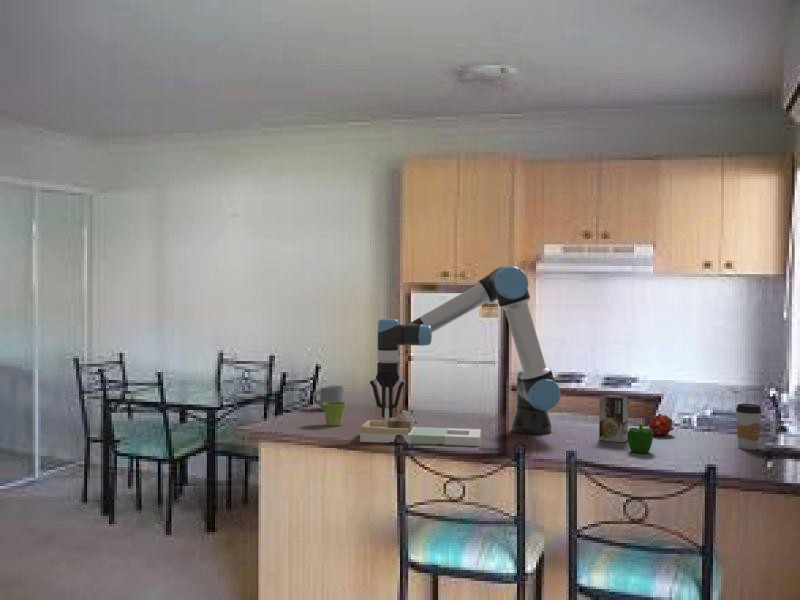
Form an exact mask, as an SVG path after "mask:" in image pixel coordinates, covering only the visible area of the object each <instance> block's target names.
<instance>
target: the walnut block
mask: <svg viewBox="0 0 800 600" xmlns="http://www.w3.org/2000/svg"><path fill="white" fill-rule="evenodd" d="M388 428H405V429H409V430H408V433H410V432H411V430H412V418H398V417H396V416H393V417H392V418H390V419H389V420H388Z"/></svg>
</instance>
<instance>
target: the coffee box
mask: <svg viewBox="0 0 800 600" xmlns="http://www.w3.org/2000/svg"><path fill="white" fill-rule="evenodd" d="M598 399H599V400H598V402H599V404H598V409H599V412H598V414H599V418H598V419H599V421H598V423H599V425H598V428H599V429H598V440H599V441H605V442H606V441H607V442H614V443H624V442H627V440H628V431H629V396H628V395H626V396H625V395H618V394H617V395H616V394H602V395H600V396H599V398H598Z"/></svg>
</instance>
